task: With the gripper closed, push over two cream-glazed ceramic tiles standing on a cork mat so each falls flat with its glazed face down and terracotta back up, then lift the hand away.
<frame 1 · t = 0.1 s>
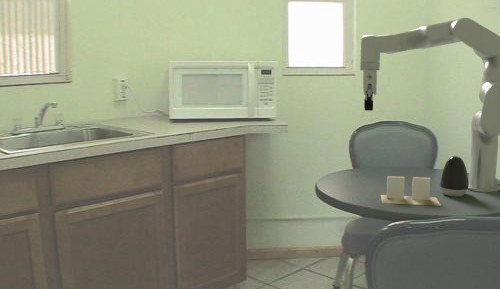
hand: (368, 109, 205), 31 cm above the table, tool pointing down, fingers open, 9 cm apart
tile b: (394, 197, 186), point 1 cm above the table, touching cork mat
tile a: (420, 199, 184), point 1 cm above the table, touching cork mat
black rounded dome: (453, 196, 191), on the table
cork mat: (409, 201, 183), on the table
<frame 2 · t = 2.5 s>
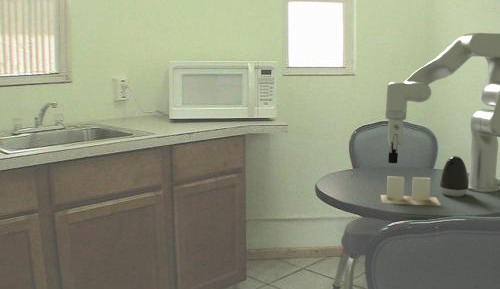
hand: (392, 162, 193), 12 cm above the table, tool pointing down, fingers closed
nothing on the table moved.
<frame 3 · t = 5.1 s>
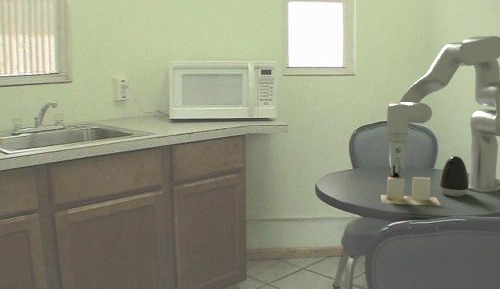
hand: (394, 186, 187), 5 cm above the table, tool pointing down, fingers closed
tile b: (395, 197, 186), point 1 cm above the table, tilted 14°, touching cork mat
everything else where it was.
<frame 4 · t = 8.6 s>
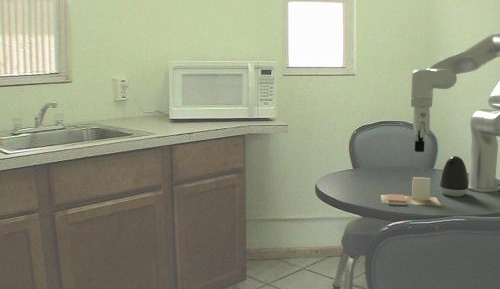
hand: (419, 151, 191), 17 cm above the table, tool pointing down, fingers closed
tile b: (395, 196, 185), point 1 cm above the table, tilted 90°, touching cork mat
everything else where it was.
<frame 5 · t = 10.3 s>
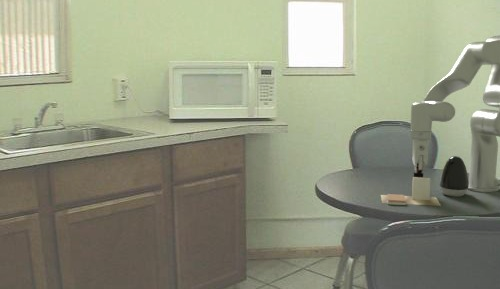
hand: (418, 182, 192), 5 cm above the table, tool pointing down, fingers closed
nothing on the table moved.
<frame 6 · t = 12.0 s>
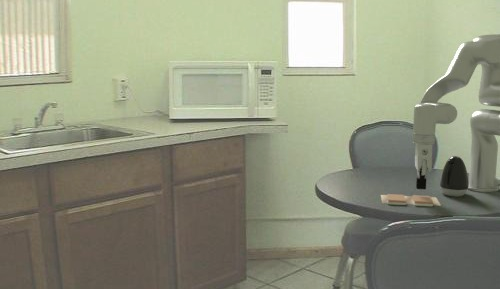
hand: (420, 188, 183), 5 cm above the table, tool pointing down, fingers closed
tile a: (420, 197, 183), point 1 cm above the table, tilted 90°, touching cork mat
everything else where it was.
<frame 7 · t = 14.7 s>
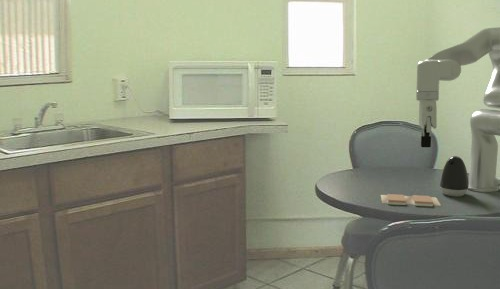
hand: (425, 146, 182), 20 cm above the table, tool pointing down, fingers closed
nothing on the table moved.
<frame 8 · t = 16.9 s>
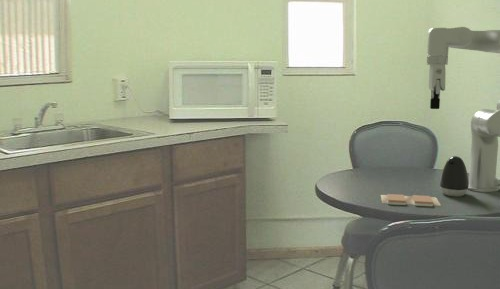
hand: (434, 108, 196), 32 cm above the table, tool pointing down, fingers closed
nothing on the table moved.
at the end: tile a tilted 90°; tile b tilted 90°; tile a inside the target area (6.6 cm from its centre), point 1.4 cm above the table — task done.
